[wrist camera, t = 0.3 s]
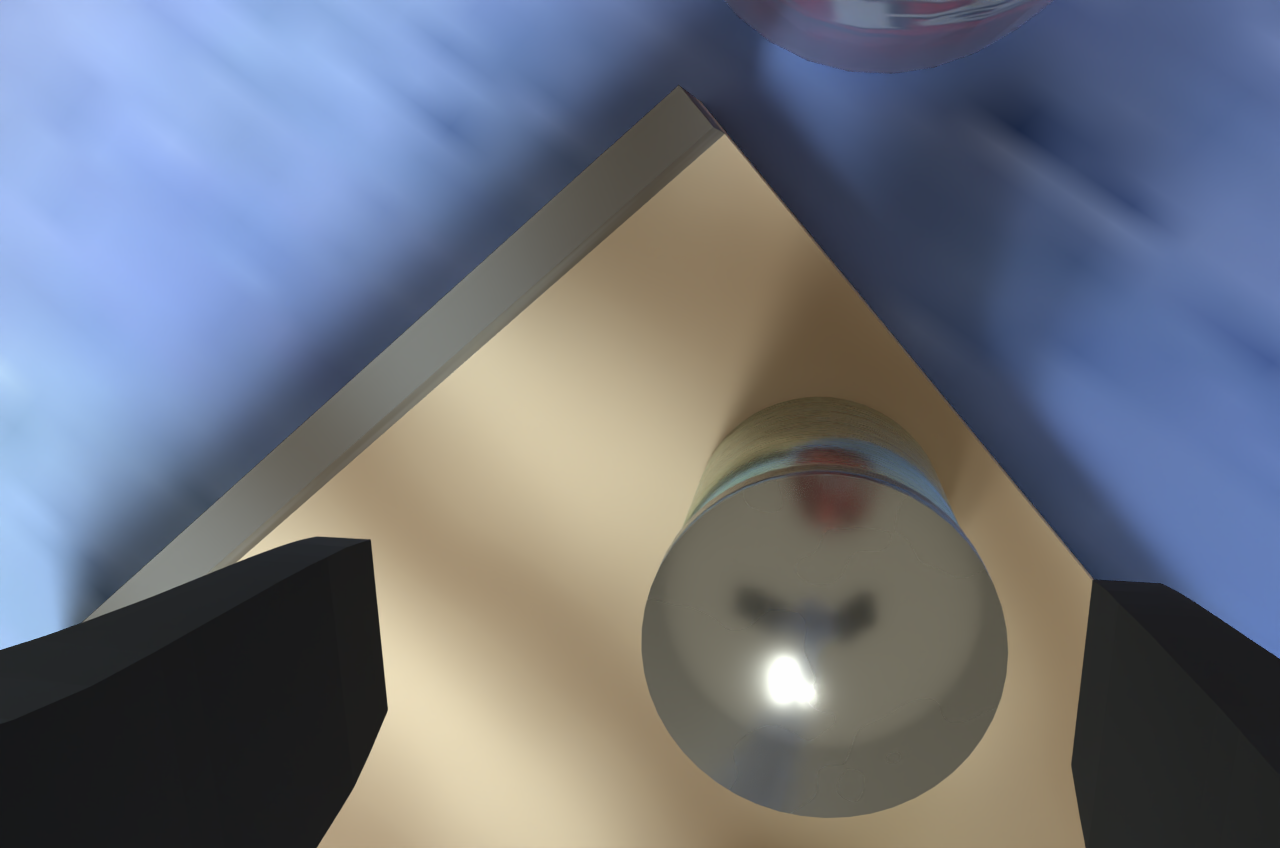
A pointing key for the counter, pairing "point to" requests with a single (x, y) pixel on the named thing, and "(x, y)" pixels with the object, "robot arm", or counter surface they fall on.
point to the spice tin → (823, 617)
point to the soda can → (885, 29)
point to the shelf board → (623, 520)
